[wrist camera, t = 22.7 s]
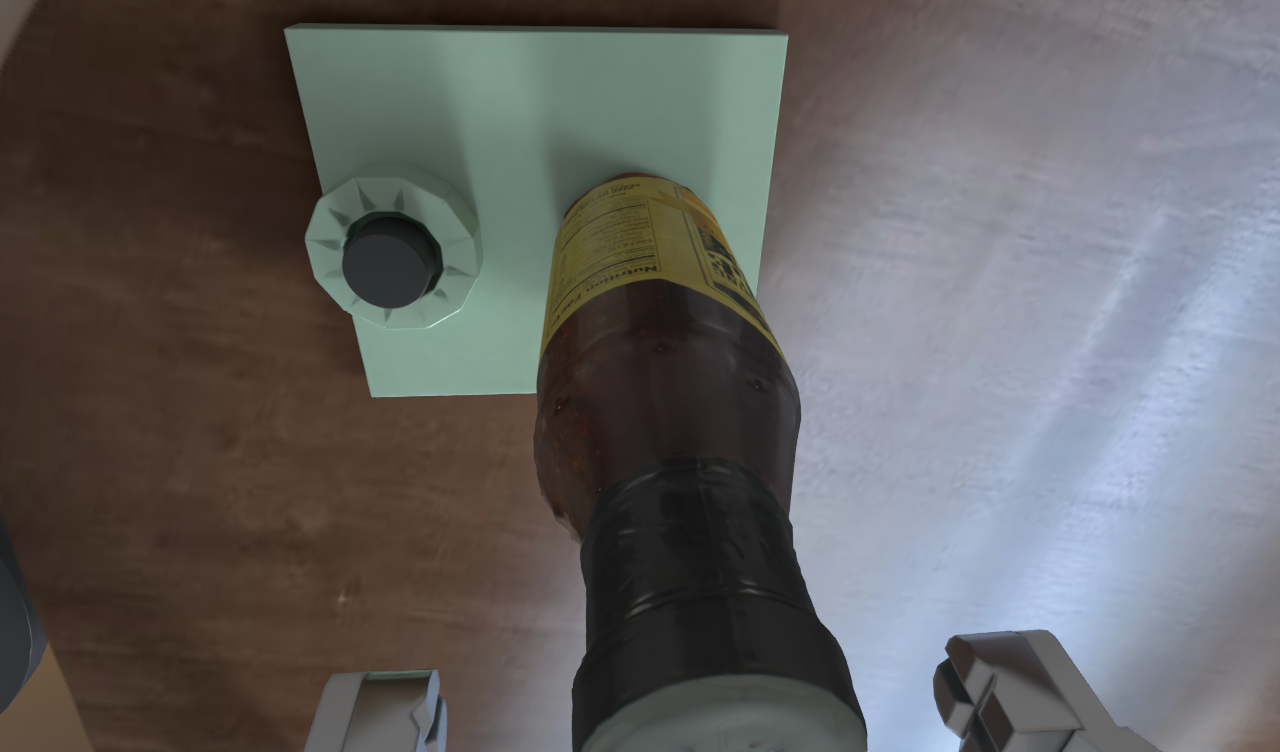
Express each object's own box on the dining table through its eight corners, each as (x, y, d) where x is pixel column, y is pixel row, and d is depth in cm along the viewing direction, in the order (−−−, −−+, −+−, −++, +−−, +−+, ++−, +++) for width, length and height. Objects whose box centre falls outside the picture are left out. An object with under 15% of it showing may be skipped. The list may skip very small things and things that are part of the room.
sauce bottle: (721, 304, 28) (930, 868, 11) (568, 326, 28) (550, 920, 11) (711, 140, 24) (1000, 613, 8) (535, 165, 24) (437, 691, 8)
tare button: (363, 290, 25) (351, 310, 24) (346, 216, 23) (332, 233, 22) (441, 289, 25) (433, 309, 24) (430, 215, 24) (421, 232, 22)
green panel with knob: (370, 379, 30) (351, 421, 28) (286, 22, 22) (249, 35, 20) (738, 370, 31) (752, 409, 29) (778, 29, 24) (802, 41, 21)
